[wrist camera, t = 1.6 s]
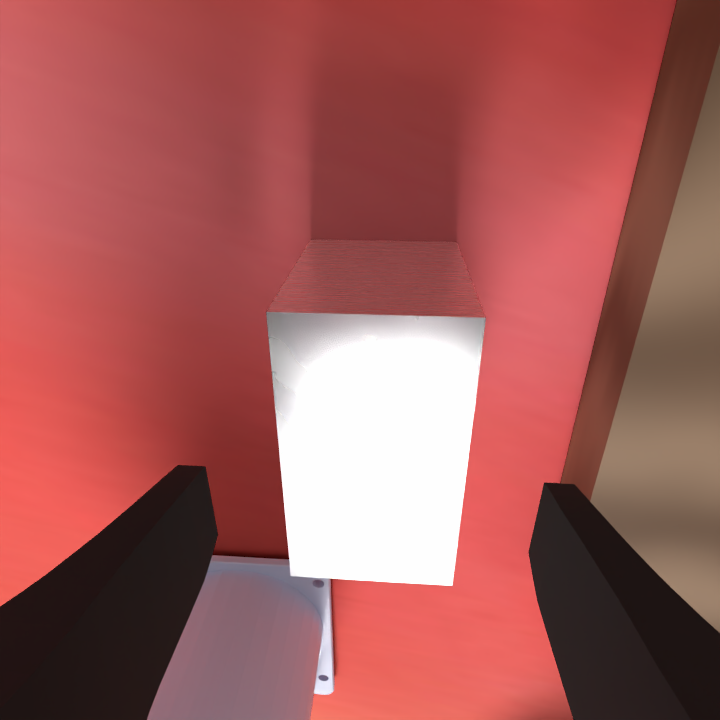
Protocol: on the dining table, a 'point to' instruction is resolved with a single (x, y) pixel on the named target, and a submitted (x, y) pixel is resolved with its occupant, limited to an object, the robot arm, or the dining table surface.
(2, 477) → the dining table surface
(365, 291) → the aluminium block
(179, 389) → the dining table surface
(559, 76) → the dining table surface
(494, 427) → the dining table surface
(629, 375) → the walnut plinth
